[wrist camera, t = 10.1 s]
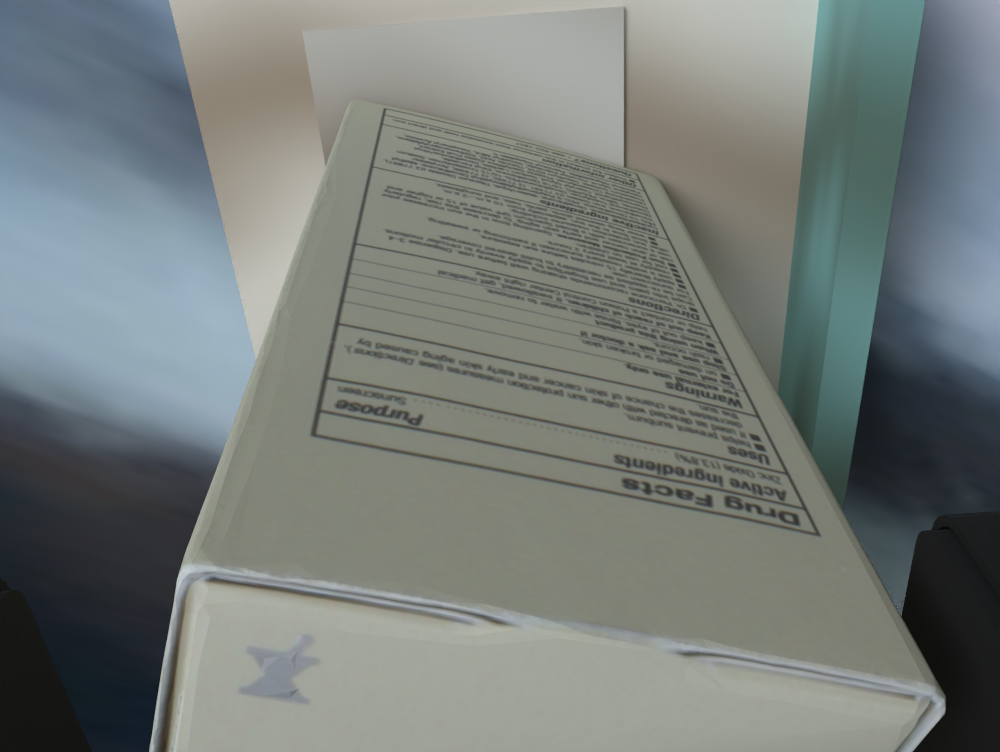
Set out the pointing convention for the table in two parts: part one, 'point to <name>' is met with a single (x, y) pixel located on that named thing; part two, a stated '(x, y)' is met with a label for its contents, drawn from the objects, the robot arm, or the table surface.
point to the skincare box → (520, 489)
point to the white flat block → (602, 140)
